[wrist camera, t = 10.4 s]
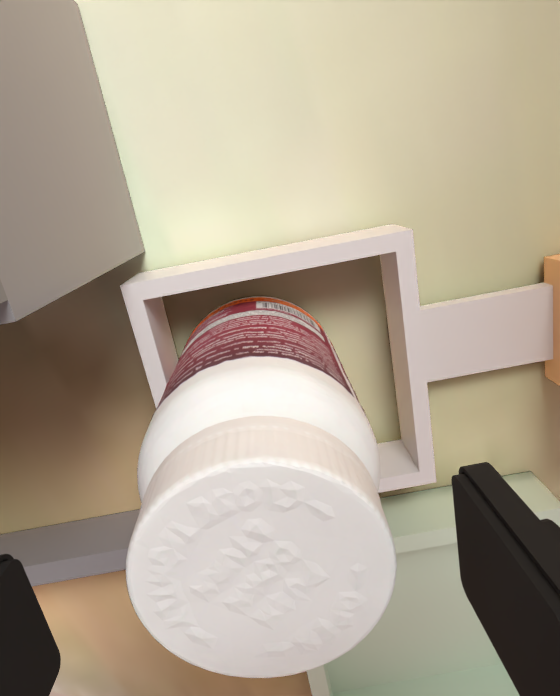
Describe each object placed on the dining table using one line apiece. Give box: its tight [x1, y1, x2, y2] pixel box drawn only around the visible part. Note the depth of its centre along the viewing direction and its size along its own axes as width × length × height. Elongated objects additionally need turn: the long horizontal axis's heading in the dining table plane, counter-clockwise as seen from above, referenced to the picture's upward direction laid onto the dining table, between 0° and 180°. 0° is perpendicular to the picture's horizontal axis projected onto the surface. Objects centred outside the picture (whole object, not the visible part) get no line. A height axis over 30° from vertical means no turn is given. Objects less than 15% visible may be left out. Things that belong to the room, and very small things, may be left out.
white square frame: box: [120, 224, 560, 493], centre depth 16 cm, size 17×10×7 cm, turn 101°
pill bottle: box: [126, 296, 397, 678], centre depth 14 cm, size 6×6×11 cm
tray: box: [307, 471, 560, 696], centre depth 22 cm, size 12×12×3 cm
